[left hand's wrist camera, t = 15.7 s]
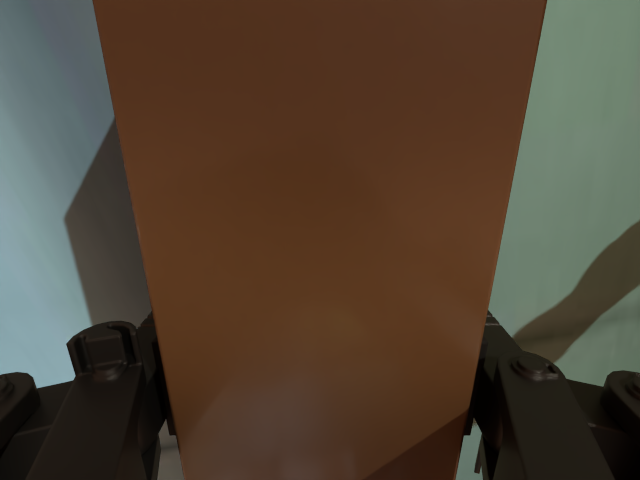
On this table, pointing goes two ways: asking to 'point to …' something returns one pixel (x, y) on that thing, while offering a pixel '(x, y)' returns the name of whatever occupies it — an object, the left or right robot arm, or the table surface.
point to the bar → (319, 219)
